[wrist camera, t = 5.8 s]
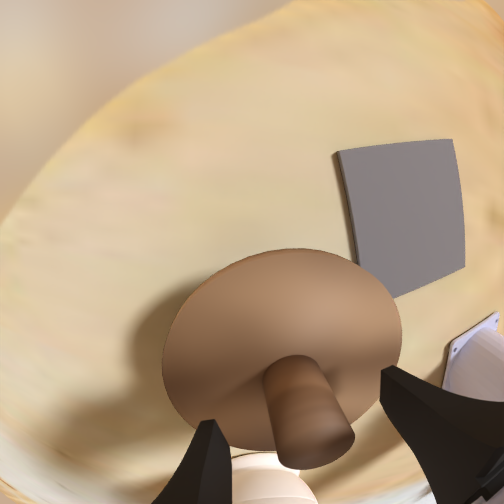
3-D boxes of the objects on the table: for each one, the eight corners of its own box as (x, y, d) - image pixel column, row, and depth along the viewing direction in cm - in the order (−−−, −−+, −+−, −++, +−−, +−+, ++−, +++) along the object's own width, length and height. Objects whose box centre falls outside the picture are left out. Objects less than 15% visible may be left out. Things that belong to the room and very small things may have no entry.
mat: (461, 265, 17) (465, 266, 17) (362, 306, 17) (365, 309, 17) (448, 139, 15) (452, 138, 15) (336, 151, 15) (339, 150, 14)
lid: (385, 406, 14) (423, 461, 9) (205, 451, 14) (204, 520, 9) (390, 225, 12) (476, 248, 6) (131, 279, 11) (73, 341, 6)
